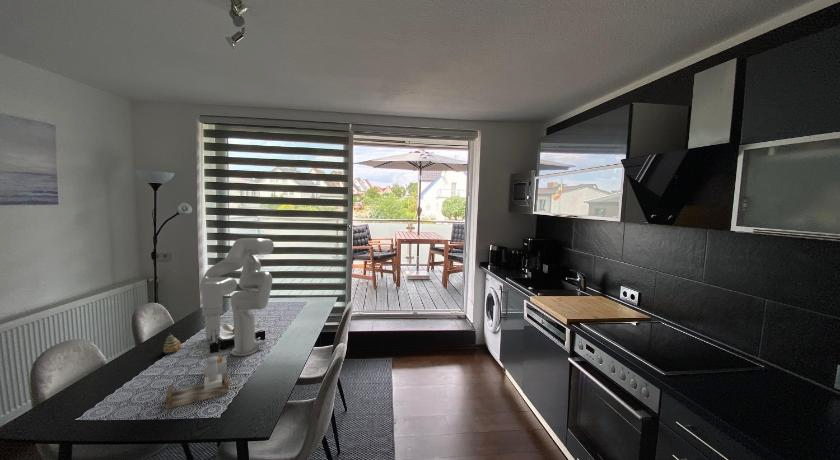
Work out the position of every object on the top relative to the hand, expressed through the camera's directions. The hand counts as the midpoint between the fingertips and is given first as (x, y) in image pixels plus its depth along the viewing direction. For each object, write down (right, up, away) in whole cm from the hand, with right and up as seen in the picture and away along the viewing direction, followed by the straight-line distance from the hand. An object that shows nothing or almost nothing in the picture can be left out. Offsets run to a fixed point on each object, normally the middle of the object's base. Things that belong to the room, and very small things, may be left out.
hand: (214, 351), depth 141 cm
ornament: (-40, -10, +29) cm, 50 cm away
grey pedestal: (+4, -10, -8) cm, 14 cm away
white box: (0, -13, +2) cm, 13 cm away
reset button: (0, -6, +1) cm, 6 cm away
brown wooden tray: (0, -14, -10) cm, 17 cm away
